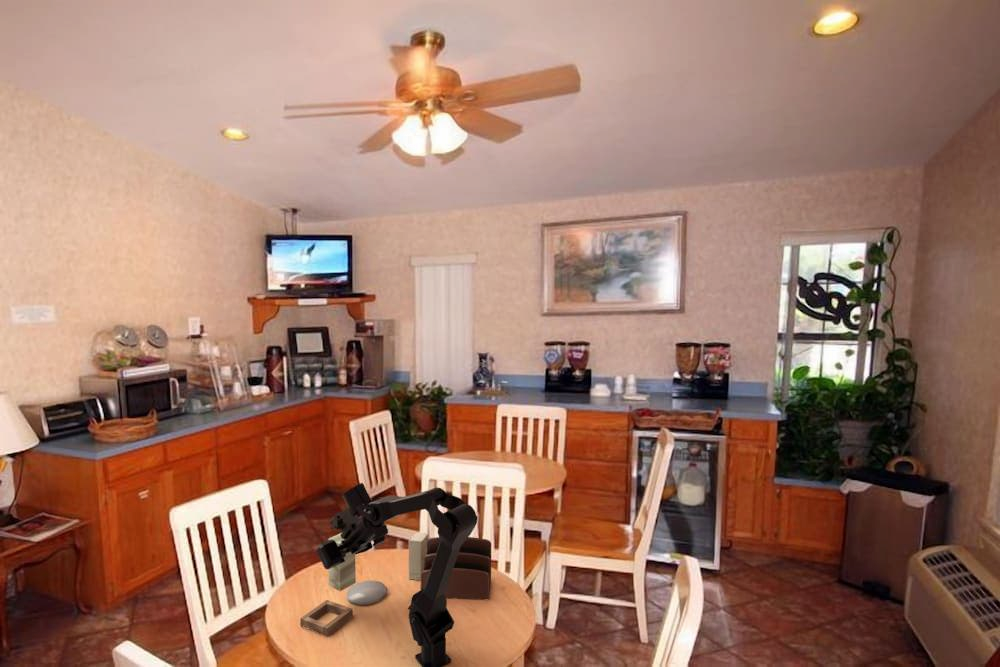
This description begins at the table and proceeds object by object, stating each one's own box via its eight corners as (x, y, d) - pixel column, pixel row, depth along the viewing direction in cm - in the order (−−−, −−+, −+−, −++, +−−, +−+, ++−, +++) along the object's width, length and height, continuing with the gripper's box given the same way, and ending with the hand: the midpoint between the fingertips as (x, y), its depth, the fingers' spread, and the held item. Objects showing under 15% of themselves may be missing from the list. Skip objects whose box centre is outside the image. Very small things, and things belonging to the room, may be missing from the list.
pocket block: (352, 616, 131) (352, 608, 131) (327, 636, 123) (327, 628, 122) (326, 606, 135) (326, 599, 135) (300, 625, 126) (300, 618, 126)
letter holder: (426, 579, 150) (427, 534, 149) (491, 581, 149) (491, 536, 148) (420, 598, 140) (420, 550, 139) (489, 600, 139) (489, 552, 138)
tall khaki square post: (355, 583, 134) (354, 536, 134) (340, 591, 130) (339, 543, 130) (344, 577, 137) (343, 532, 137) (328, 585, 133) (328, 538, 133)
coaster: (392, 596, 140) (392, 593, 140) (354, 610, 133) (354, 606, 133) (377, 579, 149) (377, 576, 149) (341, 591, 142) (341, 588, 142)
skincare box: (421, 581, 148) (421, 541, 148) (407, 579, 149) (408, 540, 149) (428, 570, 155) (428, 532, 154) (415, 568, 155) (415, 531, 155)
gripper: (378, 493, 138) (353, 521, 145) (320, 514, 123) (295, 545, 130) (397, 527, 134) (370, 555, 141) (340, 554, 119) (313, 584, 126)
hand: (338, 558), depth 134 cm, fingers closed on tall khaki square post, 5 cm apart
